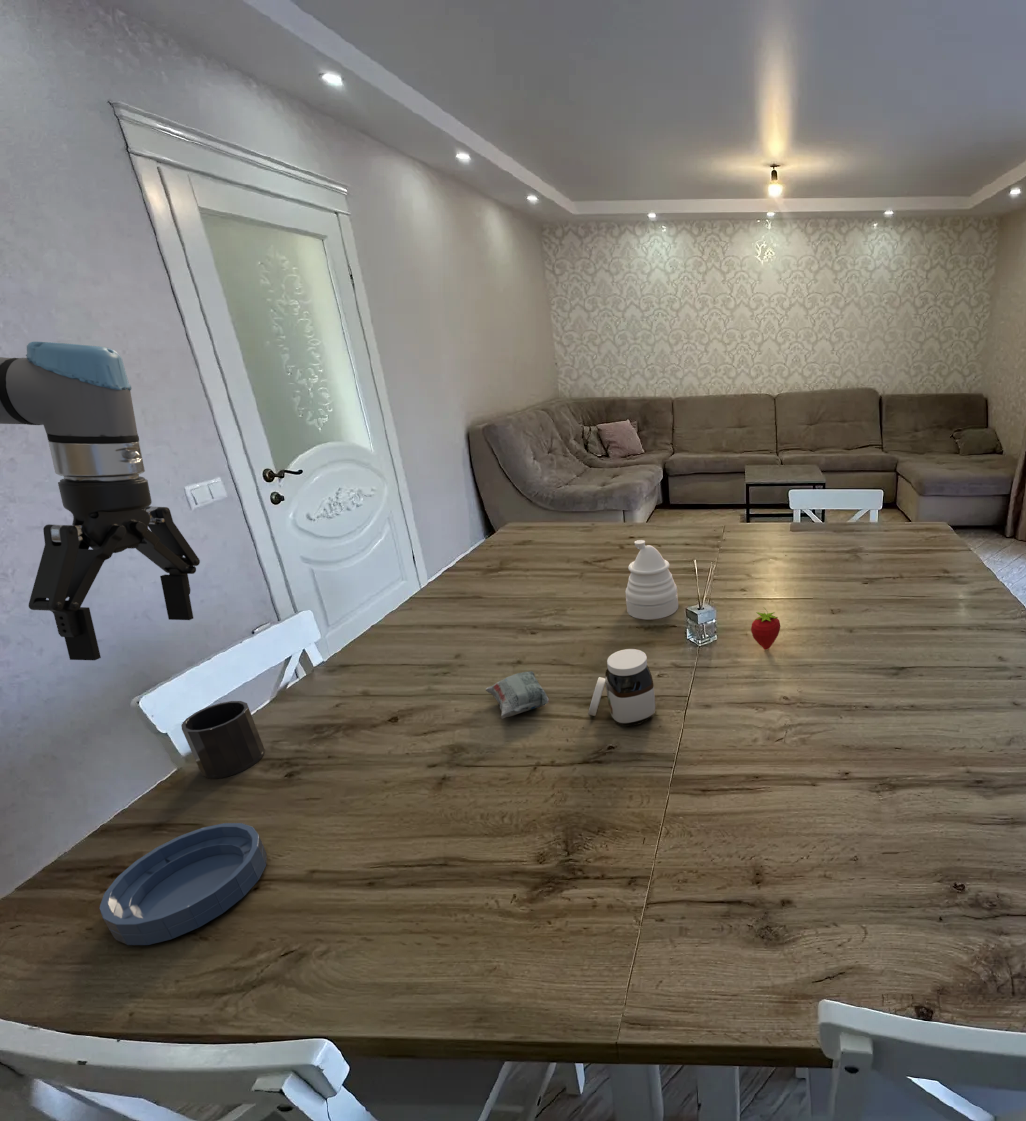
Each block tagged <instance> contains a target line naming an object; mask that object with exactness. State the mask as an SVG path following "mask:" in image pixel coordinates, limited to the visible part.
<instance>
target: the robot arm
mask: <svg viewBox="0 0 1026 1121" xmlns="http://www.w3.org/2000/svg"><path fill="white" fill-rule="evenodd" d="M131 391H132V385H131V384H130V383H129V379H128V375H127V371H126V368H125V365H124V361H123V358H122V356H121V355H120V354H119V352H117V350H114V349H113V348H109V347H106V346H100V345H99V346H98V345H87V344H76V343H63V342H49V341H31V342H28V343H27V345H26V354H25V357H1V356H0V425H28V426H43V428H44V431H45V433H46V438H47V442H48V447H49V452H50V455H51V460H52V465H53V469H54V473H55V474H56V475H58V476H60V477H63V478H61V479H60V480H59V482H57V486H58V490H59V493H60V494H59V495H60V498H61V503H62V507H63V509H65V510H66V511H69V512H70V513H71V514H72V518H73V519H72V523H71V524H49V523H48V524H46V525H43V526H44V527H43V529H42V530H43V531H42V532H43V540H44V547H43V551H42V554H41V557H40V561H39V565H38V568H37V572H36V576H35V579H34V583H33V587H32V590H31V593H30V597H29V602H28V609H30V610H31V611H49V612H51V613H52V614H53V618H54V621H55V625H56V630H57V633H58V635H59V636H60V637H61V638H64V641H65V646H66V649H67V653H68V658H69V660H70V661H97V660H99V659H101V658H102V657H101V656H102V655H101V653H100V648H99V644H98V639H97V635H96V630H95V627H94V626H95V625H94V622H93V617H92V613H91V609H90V607H88V606H87V607H85V606H82V605H83V603H84V601H85V599H86V597H87V595H88V593H89V591H90V589H91V587H92V585H93V584H94V582H95V580H96V578H97V576H98V574H99V572H100V571H101V569H102V566H103V565H104V562H105V561H107V560H109V559H111V557H112V556H113V554H118V553H121V552H123V551H125V550H127V549H129V550H131V549H132V550H133V549H136V550H137V551H138V552H139V553H140V554H142V555H143V556H144V557H145V558H147V559H148V560H150V562H152V563H153V564H154V565H156V566H157V567H159V568H160V569H161V570H162V571H164V572H165V574H161V575H160V576H159V577H160V582H161V587H162V593H163V597H164V603H165V609H166V613H167V618H168V620H171V621H191V620H193V619H194V614H193V613H194V612H193V608H192V607H193V606H192V602H191V597H190V595H191V586H190V580H189V575H194V574H195V573H196V572H197V566H199V565H200V563H201V560H200V558H199V557H198V555H197V553H196V552H195V551H194V550H193V548H192V546H191V545H190V544H189V542H188V541H187V539H186V538H185V536H184V535H183V533H182V532H181V531H180V530H179V528H178V526H177V525H176V524H175V522H174V520H173V516H172V513H171V510H170V508H169V507H167V506H151V504H152V503H153V501H152V496H151V490H150V486H149V480H148V479H146V478H145V476H144V477H143V476H140V475H142V474H143V473H145V472H146V470H145V469H146V468H145V465H144V464H145V463H144V459H143V454H142V449H141V444H140V443H141V442H140V438H139V437H140V436H139V433H138V428H137V422H136V416H135V411H134V410H135V409H134V405H133V399H132V392H131Z"/></svg>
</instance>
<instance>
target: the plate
mask: <svg viewBox="0 0 1026 1121" xmlns="http://www.w3.org/2000/svg"><path fill="white" fill-rule="evenodd" d="M267 856H268V853H267V851H266V849H265V846H264V844H263V841H262V838H261V837H260V834H259V832H257V830H256V829H255V828H254V826H251V825H249V824H246V823H243V822H223V823H218V824H213V825H208V826H204V827H201V828H197V829H195V830H192V831H190V832H187V833H184V834H181V835H179V836H176V837H174V838H173V839H170V840H169V841H167V842H164V843H163V844H160V845H158V846H156V847H155V848H153V849H152V850H151V851H148V853H146V854H144V855H143V856H141V857H139V858H138V859H136V860H135V861H134V862H132V864H130V865H129V866H128V867H127V868H126V869H124V870H123V871H122V872H121V873H120V874H119V875H117V877H116V878H115V879H114V880H113V882H112V883H111V884H110V886H108V888H107V889H106V891H105V892H104V893H103V895H102V898H101V902H100V904H99V912H100V914H101V917H102V919H103V921H104V923H105V924H106V927H107V928H108V930H109V931H110V933H111V936H112V937H113V938H114V940H116V941H118V942H120V943H122V944H124V945H126V946H150V945H154V944H158V943H159V944H160V943H163V942H167V941H171V940H174V939H175V938H178V937H181V936H182V935H185V934H188V933H190V932H192V931H195V930H197V929H199V928H201V927H203V926H204V925H206V924H207V923H210V922H211V921H213V920H214V919H216V918H218V917H220V916H221V915H223V914H224V913H226V912H227V911H228V910H230V909H231V908H232V907H233V906H234V905H236V904H237V903H238V902H239V901H240V900H242V899H243V898H244V897H245V896H246V895H248V893H249V892H250V890H252V888H253V887H255V885H256V884H257V883H258V882H259V880H260V879H261V877H262V874H263V873H264V871H265V869H266V867H267V861H268V860H267Z"/></svg>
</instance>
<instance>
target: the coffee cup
mask: <svg viewBox="0 0 1026 1121" xmlns="http://www.w3.org/2000/svg"><path fill="white" fill-rule="evenodd" d="M181 732H182V734H183V735H184V737H185V740H186V742H187V744H188V747H189V749H190V752H191V754H192V756H193V758H194V760H195V762H196V765H197V767H198V770H199V772H200V774H201V775H202V777H204V778H205V779H211V780H213V779H214V780H216V779H217V780H218V779H223V778H224V779H225V778H227V777H231V776H234V775H236V774H240V773H242V772H244V771H246V770H248V769H249V768H251V767H253V766H254V765H255V764H258V762H259V761H261V760H262V759H263V757H264V755H265V753H266V749H265V746H264V744H263V741H262V738H261V735H260V733H259V731H258V728H257V725H256V723H255V720H254V718H253V715H252V712H251V710H250V707H249V705H248V703H247V702H245V701H242V700H229V701H224V702H219V703H216V704H213V705H210V706H207V707H204V708H203V709H200V710H198V711H196V712H194V713H193V714H190V716H188V717H187V718H186V719H185V720H184V721H183V722H182V724H181Z"/></svg>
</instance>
